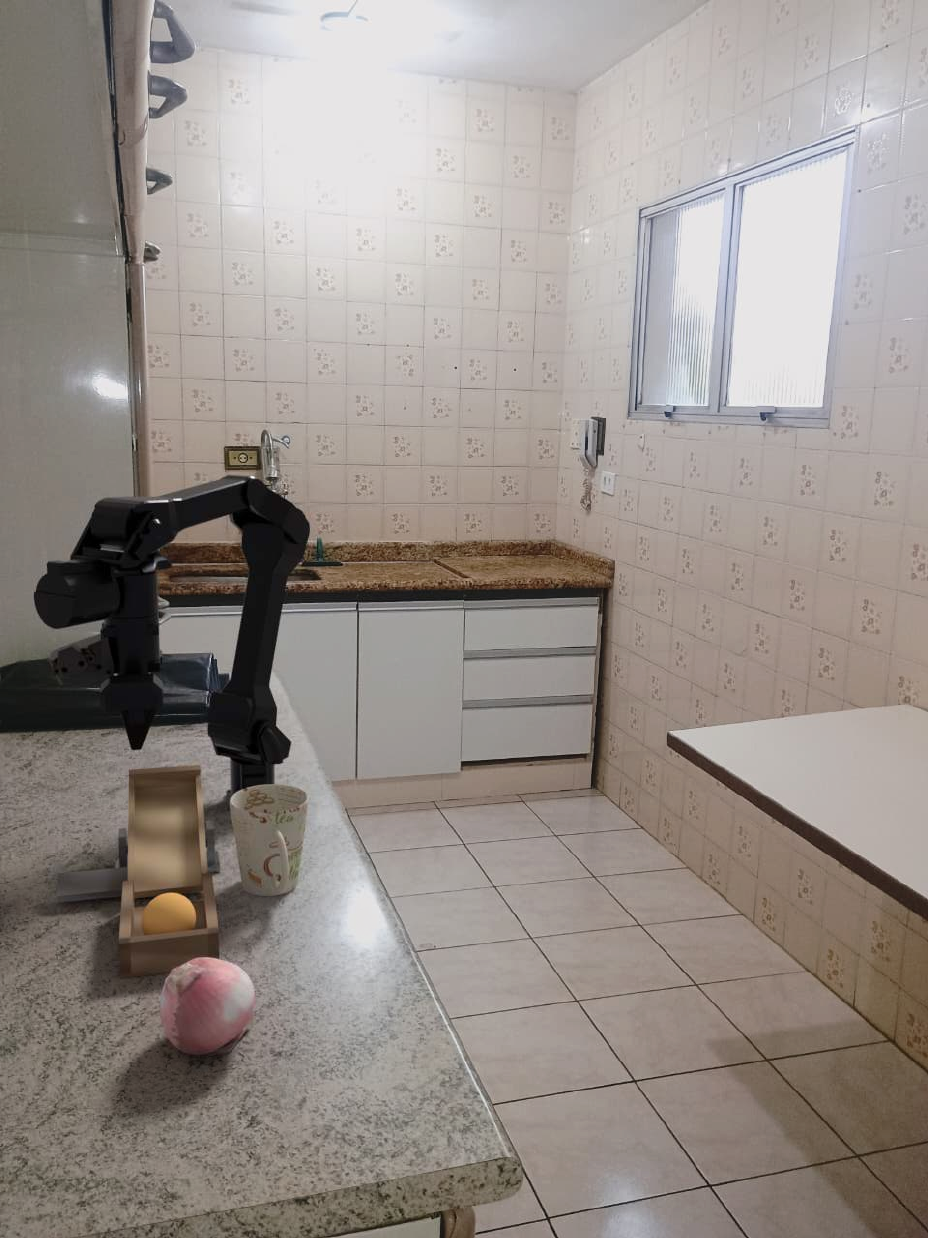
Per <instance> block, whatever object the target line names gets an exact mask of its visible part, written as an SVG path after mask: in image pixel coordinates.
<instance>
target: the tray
mask: <svg viewBox="0 0 928 1238" xmlns="http://www.w3.org/2000/svg"><path fill="white" fill-rule="evenodd" d="M201 892H202V899H201V900H192V901H191V900H189V901H190V902H191V903H192V905H193V907H194V909H195V913H196V923H195V927H194V930H189V931H180V932H172V933H163V934H154V935H146V936H145V935H144V932H143V929H142V915H143V912H144V910H145V908H146V906H147V905H145V906H136V907H135V898H134V887H133V881H123V887H122V896H121V902H120V903H121V904H120V905H121V906H120V917H119V918H120V919H119V931H118V932H119V933H118V967H119V979H126V978H127V977H128V978H134V976H135V977H141V976H142V975H143V976H149V975H148V974H151V975H157V974H158V973H159V974H166V973H171V971H172V970H173V969H174V968H176V967H179V966H181V965H183V964H185V963H187V962H188V961H190V960H192V959H195V958H201V957H209V958H216V959H220V932H219V929H220V928H219V921H218V913H217V906H216V905H217V903H216V896H215V889H214V880H213V873H202V891H201Z"/></svg>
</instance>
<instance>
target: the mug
mask: <svg viewBox="0 0 928 1238" xmlns="http://www.w3.org/2000/svg"><path fill="white" fill-rule="evenodd" d="M308 808H309V795H308V794H307V792H306V791H304V789H301V788H299V787H296V786H292V785H289V784H288V785H287V784H276V783H275V784H267V785H258V786H253V787H248V788H245V789H242V790H240V791H238V792H236V793H235V794H234V795H233V796H232V797H231V799H230V810H229V811H230V817H231V823H232V829H233V838H234V842H235V850H236V854H237V855H236V856H237V861H238V867H239V868H238V869H239V875H240V881H241V886H242V889H243V890H244V891H245V892H247V893H248V894H251V895H253V896H260V897H274V896H280V895H284V894H287V893H289V892H291V891H292V890H294V889H295V888H296V887H297V885H298V883H299V876H300V869H301V864H302V863H301V862H302V855H303V854H302V853H303V848H304V847H303V845H304V841H305V831H306V825H307V817H308V810H309V809H308Z"/></svg>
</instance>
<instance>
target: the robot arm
mask: <svg viewBox="0 0 928 1238" xmlns="http://www.w3.org/2000/svg"><path fill="white" fill-rule="evenodd" d="M226 516H228V518H229V521H230V523H231V524H232V525H233V526H234V527H235V528H236V529H238V530H239V532H241V540H240V541H241V543H240V548H241V551H242V555H243V557H244V559H245V562H246V565H247V568H248V575H247V580H246V581H247V582H246V587H245V594H244V600H243V605H242V610H241V617H240V621H239V627H238V633H237V640H236V643H235V644H236V645H235V651H234V656H233V663H232V668H231V674H230V678H229V681H228V682H227V683H226V685H225V686H223V688H222V689H221V691H212V692H211V695H210V696H209V707H208V711H207V715H206V718H205V719H204V722H205V723H206V724H207V729H206V731H207V736H208V737H209V738H210V741H211V743H212V746H213V749H214V752H215V755H216V756H219V757H221V756H222V757H226V758H229V761H230V762H229V763H230V764H229V765H230V766H229V768H230V789H227V790H226V792H225V793H226V798H227V799H226V800H227V805H228V810H229V811H230V799H231V797H232V796H233V795H234V794H235V793H236V792H238V791H240V790H242V789H245V788H248V787H253V786H258V785H267V784H276V783H275V780H276V779H275V777H276V776H275V775H276V774H275V773H276V772H275V770H276V769H275V765H281V764H283V763H284V760H285V759H287V758H289V756H290V750H291V746H292V741H291V740H290V739H289V737H288V736H287V735H286V734H284V732H282V730H281V729H280V728H279V727H278V726H277V721H278V707H277V704H276V701H275V699H274V696H273V693H272V690H271V687H270V684H271V675H272V671H273V670H272V669H273V665H274V664H273V663H274V660H275V659H274V657H275V653H276V647H277V641H278V637H279V636H278V635H279V629H280V623H281V618H282V611H283V605H284V600H285V593H286V590H287V589H286V588H287V583H288V582H287V581H288V578H289V577H290V575H291V574H292V572H293V571H294V570H295V569H296V568H297V566H298V565H299V564H300V562H301V561H303V559H304V555H305V552H306V548H307V545H308V543H309V542H308V541H309V538H310V534H311V524H310V521H309V520H308V519H307V517H306V514H305V513H304V512H303V510H302V509H300V508H298V507H296V506H295V505H294V504H293V502H291V501H290V500H288V499H286V498H285V497H283V496H281V495H280V494H278V493H277V492H275V491H273V490H272V489H270V488H269V487H268V486H267V485H266V483H264V482H263V481H262V480H261V479H259V478H258V477H256V476H252V475H240V474H239V475H237V474H227V475H225V476H223V477H221V478H219V479H215V480H213V481H209V482H206V483H202V484H197V485H193V486H191V487H187V488H183V489H180V490H177V491H173V492H170V493H166V494H161V495H158V496H114V497H109V496H108V497H104V498H102V499H99V500H98V501H97V502H96V503H94V508H93V511H92V513H91V516H90V517H89V520H88V522H87V524H86V526H85V528H84V530H83V532H82V533H81V535H80V537H79V539H78V541H77V543H76V545H75V546H74V548H73V550H72V553H71V554H70V557H69V560H59V559H57V560H48V561H47V562H46V573H45V574H44V575H42V576H41V577H40V578H39V580H38V582H37V584H36V588H35V591H34V592H33V601H34V607H35V610H36V613H37V614H38V617H39V618H40V620H41V621H42V622H43V623H44V624H45V626H47V627H48V628H51V629H53V630H60V629H61V630H62V629H65V628H66V629H67V628H69V627H70V628H71V627H74V626H76V627H77V626H80V625H86V624H89V623H94V622H99V621H102V622H101V628H100V632H99V633H98V634H95V635H93V636H88V637H86V638H82V639H79V640H77V641H75V642H71V643H70V644H69V643H68V644H67V645H64V646H61V647H59V648H57V649H54V650H53V651H51V653H50V655H49V657H48V661H49V664H50V665H51V667H52V670H51V673H52V675H54V676H55V678H56V679H57V681H58V683H59V685H60V686H66V685H68V684H72V683H73V682H74V680H77V679H80V678H82V677H85V676H87V675H90V674H92V673H95V672H97V671H99V670H101V676H109V677H107V678H106V680H104V682H102V683H101V684H100V688H99V689H100V690H99V707H100V708H99V709H100V711H101V712H120V716H121V718H122V722H123V724H124V725H123V726H124V728H125V732H126V736H127V739H128V742H129V747H130V749H131V751H140V750H142V749H143V747H144V744H145V741H146V739H147V736H148V733H149V731H150V728H151V725H152V724H153V720H154V718H155V716H156V713H157V711H158V709H161V708H164V683H163V682H164V681H163V680H161V679H160V678H159V677H158V676H157V675H156V674H154V673H158V672H159V673H160V672H163V671H164V669H163V668H164V665H163V650H162V649H161V648H160V647H161V646H160V644H161V643H160V642H161V641H160V617H159V615H160V614H159V613H160V612H159V588H158V587H159V583H158V581H159V580H158V579H159V578H158V572H159V571H164V570H165V571H166V570H171V569H172V568H173V564H172V562H171V561H170V560H169V559H168V558H166V557H164V555H162V554H161V552H160V550H161V549H162V548H164V547H166V546H167V545H169V544H171V543H173V541H174V540H175V539H176V538H177V536H178V534H179V533H181V532H182V531H184V530H186V529H189V528H192V527H195V526H198V525H201V524H204V523H208V522H211V521H214V520H217V519H220V518H223V517H226Z"/></svg>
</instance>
